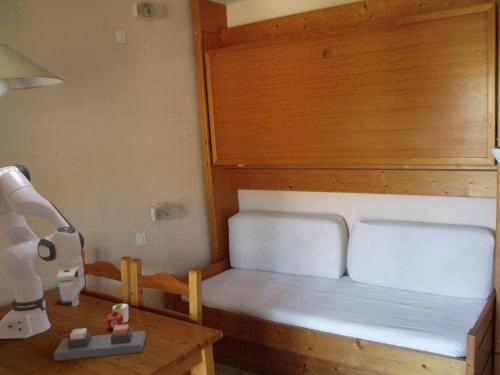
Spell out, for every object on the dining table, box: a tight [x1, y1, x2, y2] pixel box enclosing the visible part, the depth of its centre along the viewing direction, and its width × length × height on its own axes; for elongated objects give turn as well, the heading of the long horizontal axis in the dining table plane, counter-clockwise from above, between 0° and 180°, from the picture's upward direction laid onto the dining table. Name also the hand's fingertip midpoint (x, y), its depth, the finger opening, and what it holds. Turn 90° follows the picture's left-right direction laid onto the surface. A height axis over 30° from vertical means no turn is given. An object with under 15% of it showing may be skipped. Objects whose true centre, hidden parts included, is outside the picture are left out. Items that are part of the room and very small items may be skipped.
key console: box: [53, 327, 147, 362], centre depth 193 cm, size 32×13×6 cm, turn 95°
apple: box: [105, 303, 123, 330], centre depth 213 cm, size 8×7×10 cm
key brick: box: [112, 323, 130, 336], centre depth 193 cm, size 5×5×3 cm
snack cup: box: [54, 281, 72, 305], centre depth 252 cm, size 16×10×10 cm
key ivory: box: [69, 327, 88, 340], centre depth 192 cm, size 5×5×3 cm
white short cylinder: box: [111, 303, 129, 324], centre depth 221 cm, size 7×7×7 cm
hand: (75, 305), depth 190 cm, fingers closed
